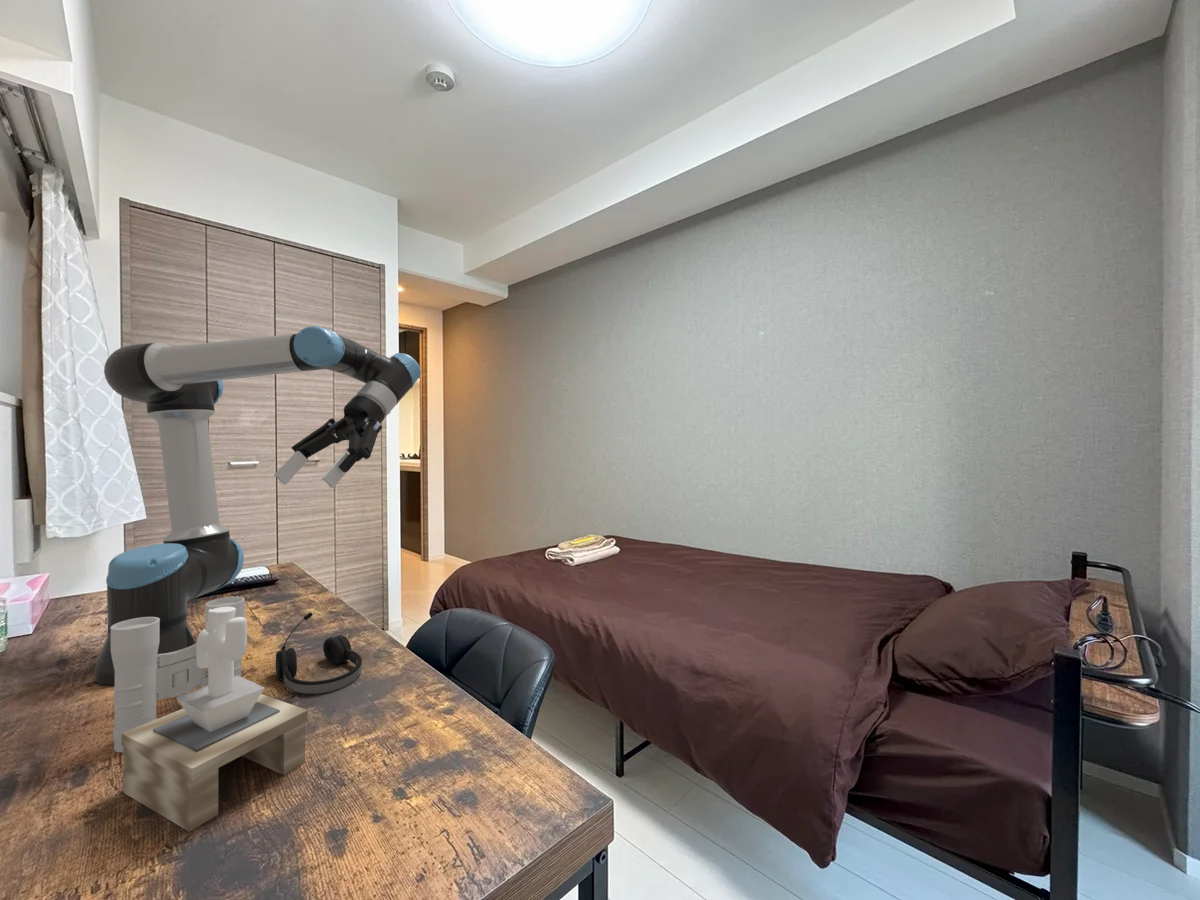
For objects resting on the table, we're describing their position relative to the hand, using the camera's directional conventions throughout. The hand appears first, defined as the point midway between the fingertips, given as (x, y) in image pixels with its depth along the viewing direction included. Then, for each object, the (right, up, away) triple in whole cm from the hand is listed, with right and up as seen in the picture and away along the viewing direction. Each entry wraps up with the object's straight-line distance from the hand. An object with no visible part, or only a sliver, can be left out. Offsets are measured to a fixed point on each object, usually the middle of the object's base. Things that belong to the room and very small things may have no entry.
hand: (302, 481), depth 94 cm
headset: (+1, -38, +3) cm, 38 cm away
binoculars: (-11, -38, -14) cm, 42 cm away
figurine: (+5, -30, -27) cm, 41 cm away
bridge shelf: (+5, -38, -27) cm, 47 cm away
